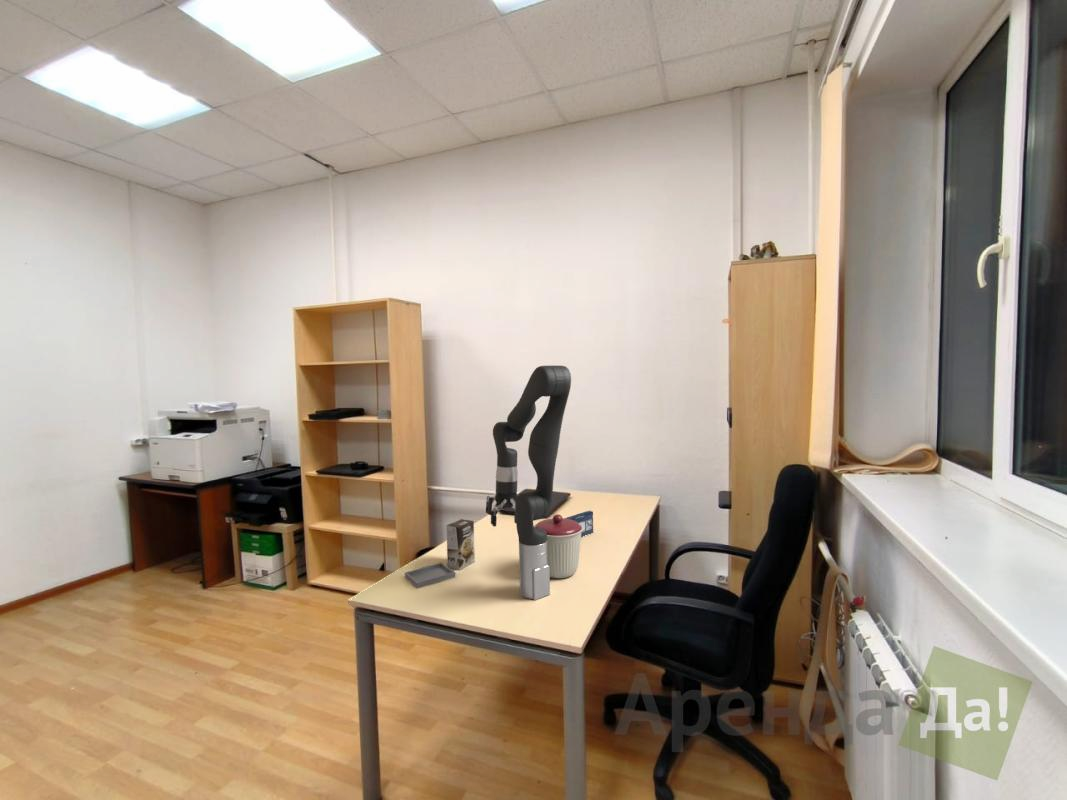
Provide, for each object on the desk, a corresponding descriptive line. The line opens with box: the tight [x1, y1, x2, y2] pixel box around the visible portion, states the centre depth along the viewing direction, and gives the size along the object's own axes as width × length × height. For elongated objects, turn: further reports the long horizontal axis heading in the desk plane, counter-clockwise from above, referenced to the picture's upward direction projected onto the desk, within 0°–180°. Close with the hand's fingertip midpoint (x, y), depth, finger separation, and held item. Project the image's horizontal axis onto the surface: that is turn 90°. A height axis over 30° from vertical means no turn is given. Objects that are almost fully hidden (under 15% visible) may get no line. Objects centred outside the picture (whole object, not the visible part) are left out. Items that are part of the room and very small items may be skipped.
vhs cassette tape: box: [564, 510, 594, 538], centre depth 202 cm, size 18×3×10 cm, turn 129°
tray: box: [404, 561, 456, 589], centre depth 166 cm, size 11×14×2 cm
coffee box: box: [446, 518, 476, 571], centre depth 176 cm, size 9×6×16 cm
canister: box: [533, 514, 583, 579], centre depth 167 cm, size 18×18×21 cm
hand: (505, 524), depth 163 cm, fingers open, 8 cm apart
